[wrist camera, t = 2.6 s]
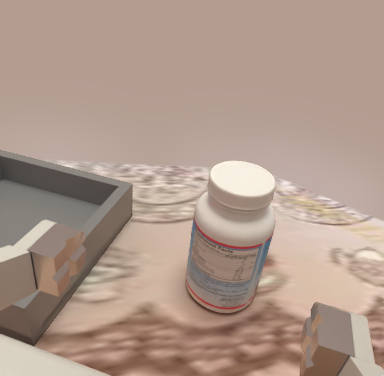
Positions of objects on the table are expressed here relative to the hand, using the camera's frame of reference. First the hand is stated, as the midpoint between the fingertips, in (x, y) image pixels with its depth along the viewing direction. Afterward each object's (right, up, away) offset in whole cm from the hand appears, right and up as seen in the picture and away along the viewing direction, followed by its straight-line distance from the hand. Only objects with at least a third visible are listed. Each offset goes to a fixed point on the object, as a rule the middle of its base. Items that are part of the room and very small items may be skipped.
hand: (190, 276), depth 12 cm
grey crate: (-16, -2, +20) cm, 26 cm away
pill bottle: (+2, -6, +18) cm, 19 cm away
